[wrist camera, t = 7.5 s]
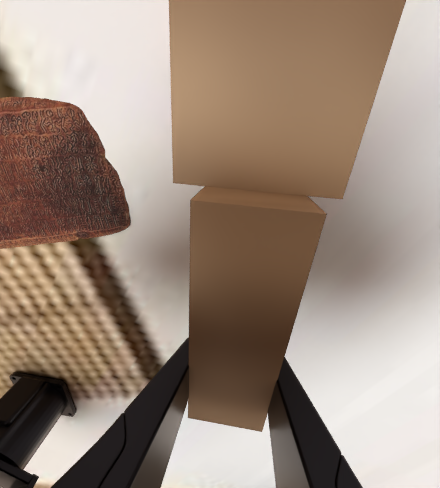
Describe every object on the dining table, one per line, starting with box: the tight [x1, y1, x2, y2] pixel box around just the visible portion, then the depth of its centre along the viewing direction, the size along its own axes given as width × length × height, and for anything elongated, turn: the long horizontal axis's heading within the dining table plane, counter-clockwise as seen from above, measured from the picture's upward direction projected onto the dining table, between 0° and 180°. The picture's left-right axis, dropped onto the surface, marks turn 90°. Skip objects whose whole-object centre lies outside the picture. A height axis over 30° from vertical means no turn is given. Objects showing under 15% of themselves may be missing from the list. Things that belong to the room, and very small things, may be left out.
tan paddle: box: [169, 0, 406, 432], centre depth 6 cm, size 17×5×3 cm, turn 176°
